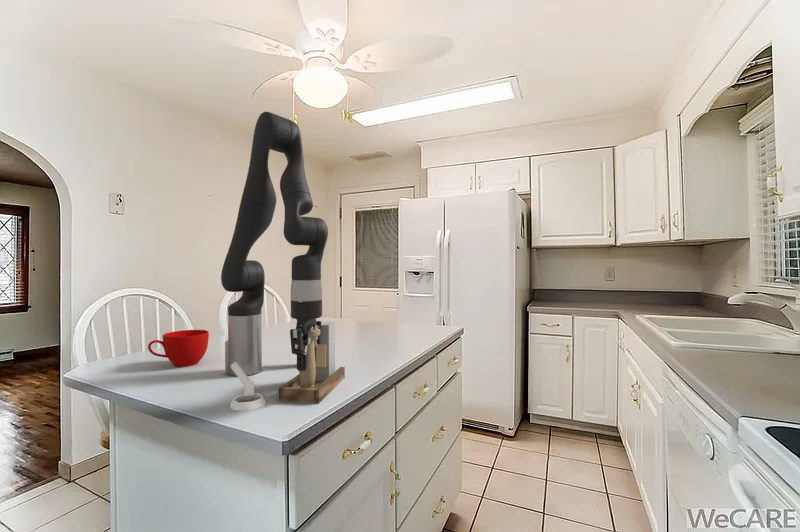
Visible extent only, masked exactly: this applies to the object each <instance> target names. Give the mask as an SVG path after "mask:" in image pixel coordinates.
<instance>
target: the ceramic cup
mask: <svg viewBox="0 0 800 532" xmlns="http://www.w3.org/2000/svg"><path fill="white" fill-rule="evenodd" d="M209 335H210V333H209V331H208V330H206V329H184V330H177V331H169V332H166V333H164V334H162V340H157V339H154V340H152V341H150V342H149V343H148V346H147V349H148V352H149V353H150V354H152V355H153V356H156V357H161V358H167V359H168V360H169V362H170V363H171V364H173V365H174V366H175V367H178V368H183V367H184V368H185V367H191V366H196V365H198V364H199V363H200V361H201V360H202V359H203V358H204V356H205V354H206V352H207V349H208V345H209V337H210V336H209ZM156 343H158V344H160V345H161V346H162V347H163V350H164V353H165V354H161V353H157V352H155V351H154V350H152V347H151V346H152V344H156Z"/></svg>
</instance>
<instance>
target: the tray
mask: <svg viewBox="0 0 800 532" xmlns="http://www.w3.org/2000/svg"><path fill="white" fill-rule="evenodd" d="M345 369H346V368H345V366H340V367H339V368H337V369H335V372H334V373H333V374H332V375H331V376H329V377H328V378H327V379H326V380H325V381H324V382H320V381H315V383H314V385H315V386H314V388H300V386H301V384H300V379H299V374H297V375H296V376H294V377H292V378H291V379H290V380H288V381H287V382H286V383H283V384H282V385H281V386H280V387H279V388H277V389H278V393H277V395H278V402H291V403H305V404H306V403H307V404H321V402H322V401H323V400H324V399H326V397H327V396H328V395H329V394H330V393H332V391H333V390H334V389H335V388H336V387H337V386H338V385H339V384H340V383H342V382H343V380H344V379H345V378H346V376H345V375H346V374H345V373H346V372H345ZM342 379H343V380H342Z"/></svg>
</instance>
